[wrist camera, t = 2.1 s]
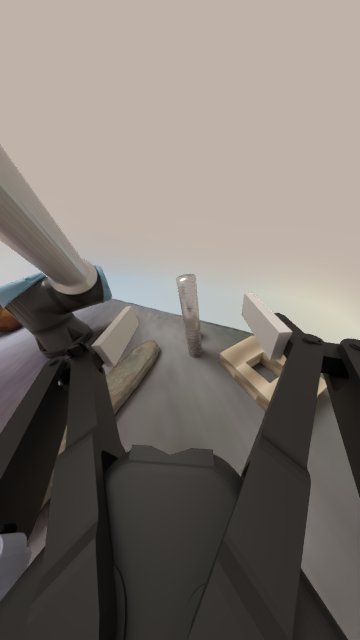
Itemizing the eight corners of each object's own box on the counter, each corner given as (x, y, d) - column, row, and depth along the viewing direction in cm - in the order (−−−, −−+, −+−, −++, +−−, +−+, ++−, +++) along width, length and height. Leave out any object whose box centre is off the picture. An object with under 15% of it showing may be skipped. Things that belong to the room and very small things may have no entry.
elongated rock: (171, 354, 37) (146, 347, 42) (167, 340, 34) (140, 334, 39) (-25, 621, 12) (-31, 524, 17) (-97, 644, 9) (-78, 521, 14)
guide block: (219, 362, 30) (219, 353, 28) (250, 345, 33) (252, 335, 31) (281, 429, 19) (289, 420, 17) (320, 394, 22) (330, 383, 20)
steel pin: (186, 350, 35) (173, 277, 24) (197, 345, 36) (189, 273, 25) (193, 359, 32) (181, 282, 21) (204, 353, 33) (199, 276, 22)
